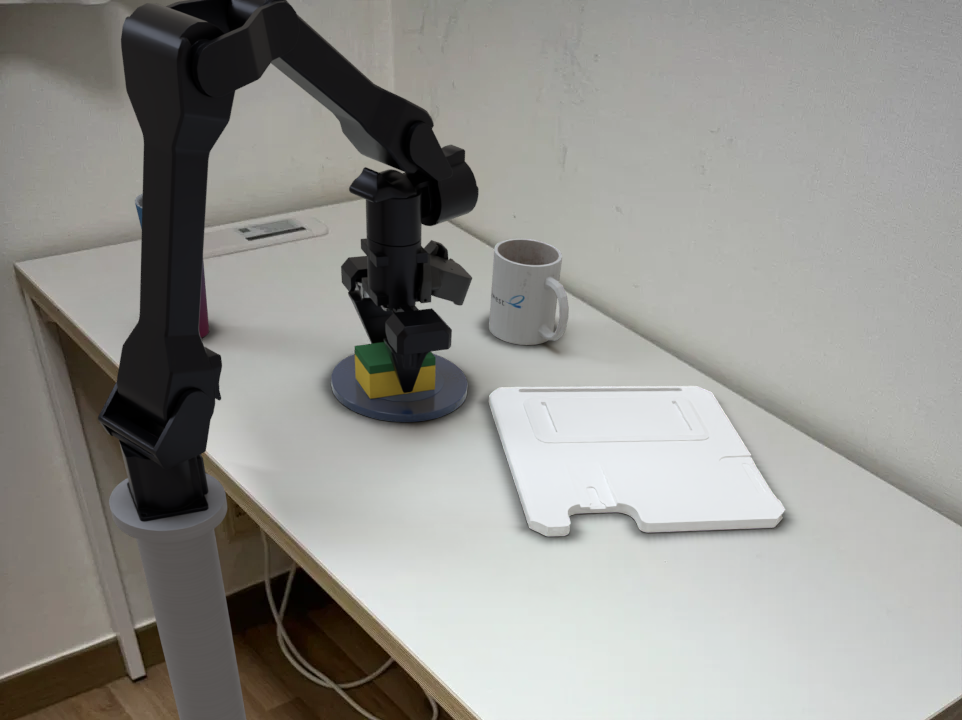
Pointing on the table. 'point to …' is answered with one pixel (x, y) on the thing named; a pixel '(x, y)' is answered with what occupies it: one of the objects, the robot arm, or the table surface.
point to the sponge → (387, 372)
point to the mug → (527, 292)
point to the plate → (402, 406)
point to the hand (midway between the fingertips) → (394, 375)
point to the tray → (630, 458)
